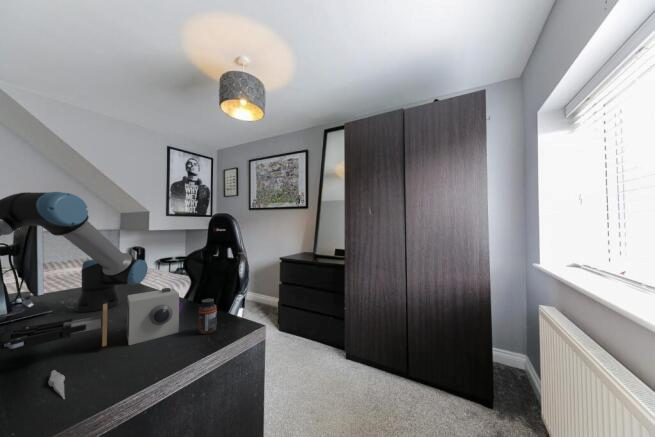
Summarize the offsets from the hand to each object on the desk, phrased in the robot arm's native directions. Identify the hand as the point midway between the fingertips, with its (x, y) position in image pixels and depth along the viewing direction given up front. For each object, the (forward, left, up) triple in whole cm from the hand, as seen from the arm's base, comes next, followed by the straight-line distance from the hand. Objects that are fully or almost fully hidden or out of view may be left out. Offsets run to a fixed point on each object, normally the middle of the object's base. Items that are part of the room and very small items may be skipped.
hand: (101, 321), depth 78 cm
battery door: (0, -3, -7) cm, 7 cm away
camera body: (+1, +14, -8) cm, 16 cm away
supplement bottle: (+11, +29, -8) cm, 32 cm away
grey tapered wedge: (+19, -7, -9) cm, 22 cm away
